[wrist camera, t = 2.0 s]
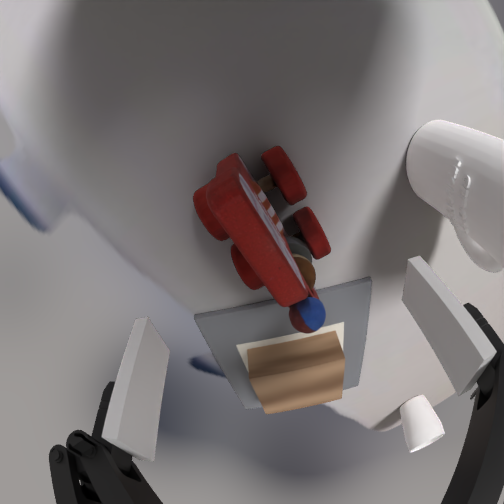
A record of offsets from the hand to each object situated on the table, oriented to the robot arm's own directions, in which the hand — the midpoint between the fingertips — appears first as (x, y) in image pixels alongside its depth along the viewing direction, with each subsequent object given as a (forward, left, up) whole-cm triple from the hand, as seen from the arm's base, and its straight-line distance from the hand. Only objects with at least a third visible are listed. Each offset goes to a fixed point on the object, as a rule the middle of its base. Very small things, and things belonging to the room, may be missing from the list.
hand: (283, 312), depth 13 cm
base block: (+20, 0, -10) cm, 22 cm away
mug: (0, +17, -11) cm, 20 cm away
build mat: (+20, 0, -11) cm, 22 cm away
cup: (+52, +25, -11) cm, 58 cm away
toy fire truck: (0, 0, -11) cm, 11 cm away
